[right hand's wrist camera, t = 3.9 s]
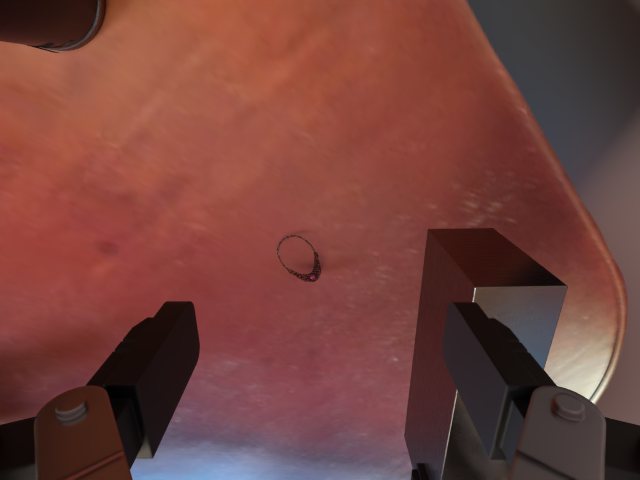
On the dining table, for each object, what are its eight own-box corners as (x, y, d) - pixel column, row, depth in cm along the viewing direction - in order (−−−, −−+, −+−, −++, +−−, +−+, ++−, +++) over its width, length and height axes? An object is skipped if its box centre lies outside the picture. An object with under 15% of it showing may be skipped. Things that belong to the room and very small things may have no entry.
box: (427, 228, 34) (475, 287, 24) (493, 228, 34) (568, 286, 24) (403, 435, 44) (430, 537, 34) (454, 434, 44) (495, 536, 34)
